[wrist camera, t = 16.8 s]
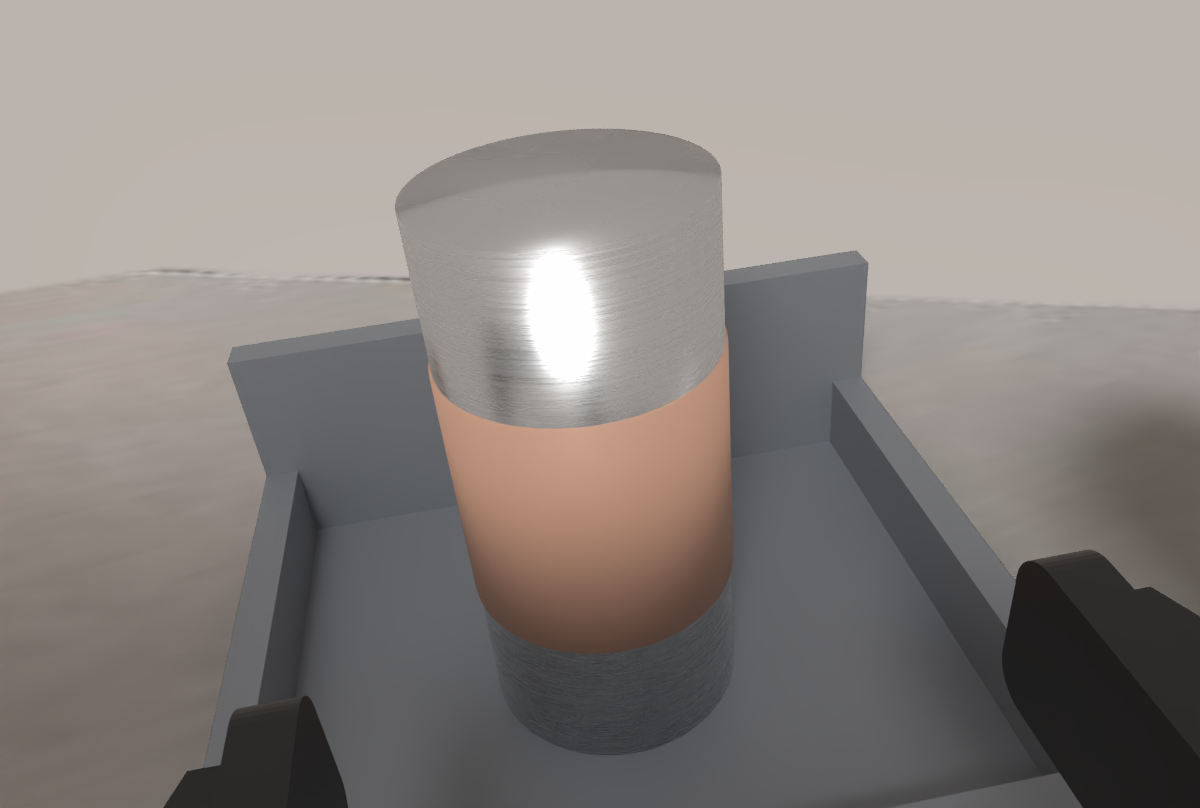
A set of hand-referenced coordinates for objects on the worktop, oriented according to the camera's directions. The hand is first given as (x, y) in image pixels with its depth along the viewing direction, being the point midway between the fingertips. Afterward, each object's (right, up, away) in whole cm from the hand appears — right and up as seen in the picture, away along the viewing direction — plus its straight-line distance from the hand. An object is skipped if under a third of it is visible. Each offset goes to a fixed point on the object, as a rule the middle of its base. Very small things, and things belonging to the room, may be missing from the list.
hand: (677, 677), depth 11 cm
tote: (0, -3, +11) cm, 11 cm away
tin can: (0, -3, +11) cm, 11 cm away
